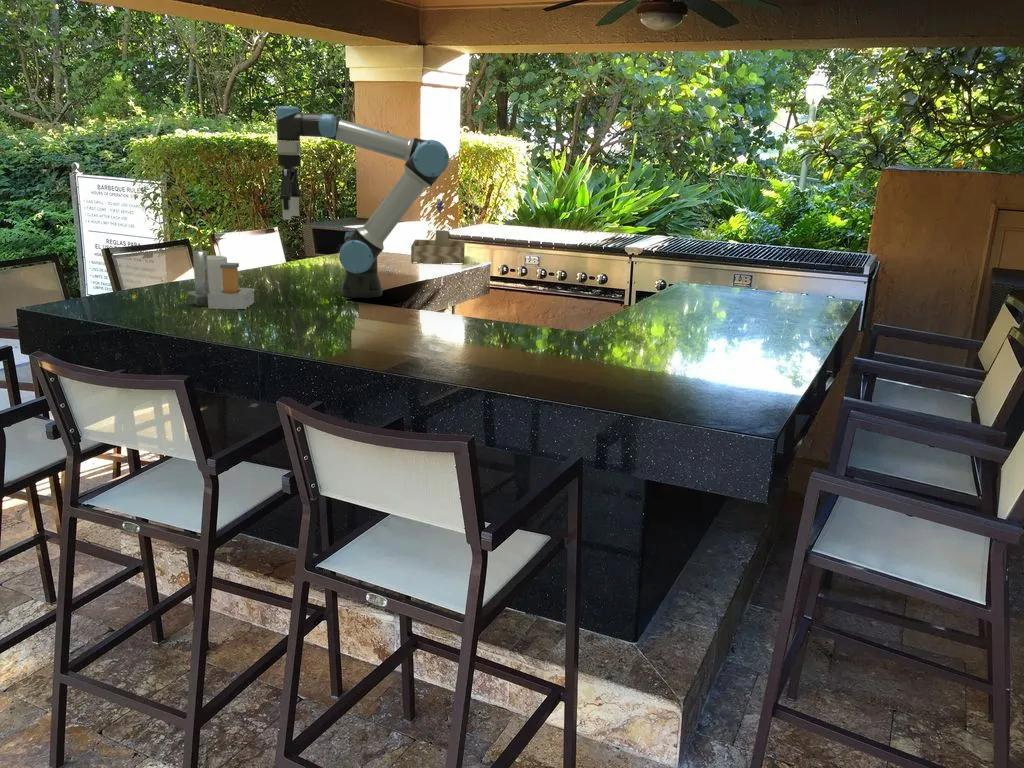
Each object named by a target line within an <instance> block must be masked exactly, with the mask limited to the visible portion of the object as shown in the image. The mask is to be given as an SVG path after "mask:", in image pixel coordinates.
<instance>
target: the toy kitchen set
mask: <svg viewBox="0 0 1024 768" xmlns="http://www.w3.org/2000/svg"><path fill="white" fill-rule="evenodd" d="M452 238H453V237H451V233H450V231H449V230H440V229H437V230H435V240H436V243H434V244H430V245H425V246H436V247H448V242H449V241H451V240H452Z"/></svg>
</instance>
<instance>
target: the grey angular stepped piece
mask: <svg viewBox="0 0 1024 768" xmlns="http://www.w3.org/2000/svg"><path fill="white" fill-rule="evenodd" d="M207 256H208V251H207V250H193V251H192V259H193V274H194V287H195V288H194V289H195V290H190V291H187V294H188V296H193V297H195V306H197V307H208V309H210V310H237V309H245V310H247V309H248V308H249V307H251V306H252V305H254V304H255V292H254V291H255V289H254V288H251V287H239V292H238V293H226V292H223V288H217V289H215V290H213V291H210V290H209V277H208V261H207ZM253 303H254V304H253ZM250 305H251V306H250ZM247 307H248V308H247ZM246 308H247V309H246Z"/></svg>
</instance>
